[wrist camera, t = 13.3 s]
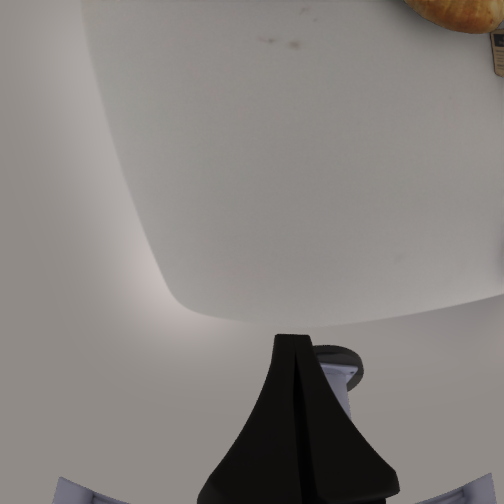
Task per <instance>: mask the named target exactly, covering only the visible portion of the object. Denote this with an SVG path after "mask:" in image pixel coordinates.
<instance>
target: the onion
mask: <svg viewBox="0 0 504 504" xmlns="http://www.w3.org/2000/svg"><path fill="white" fill-rule="evenodd" d="M404 1H405V2H406V3H407V4H408V5H409V6H410V7H411V8H412V9H413V10H414V11H416V12H417V13H418V14H419V15H421V16H422V17H423V18H425V19H427V20H429V21H431V22H433V23H435V24H437V25H439V26H441V27H444V28H446V29H449V30H452V31H458V32H464V33H470V34H483V33H488V32H492V31H494V30H495V29H496V28H498V26H499V24H500V23H501V22H502V21H503V19H504V0H404Z"/></svg>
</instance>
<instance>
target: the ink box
mask: <svg viewBox="0 0 504 504" xmlns="http://www.w3.org/2000/svg"><path fill="white" fill-rule="evenodd" d="M490 34H491V40H492V47H493V55H494V64H495V73H496V74H497V75H499V76H501V77H504V29H495V30H494V31H492V32H490Z"/></svg>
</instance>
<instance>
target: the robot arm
mask: <svg viewBox="0 0 504 504" xmlns="http://www.w3.org/2000/svg"><path fill="white" fill-rule="evenodd" d="M357 370H358V367H357V366H353V365H341V364H330V363H320V362H319V361H318V358H317V356H316V353H315V351H314V348H313V345H312V342H311V339H310V336H309V335H297V334H277V335H275V338H274V346H273V353H272V359H271V365H270V368H269V371H268V374H267V377H266V380H265V383H264V385H263V388H262V390H261V393H260V395H259V398H258V400H257V402H256V404H255V406H254V409H253V410H252V412H251V414H250V416H249V418H248V420H247V422H246V424H245V426H244V427H243V429H242V431H241V432H240V434H239V436H238V437H237V439H236V440H235V442H234V444H233V445H232V447H231V448H230V449H229V451H228V453H227V454H226V455H225V457H224V458H223V459H222V461H221V462H220V463H219V465H218V466H217V467H216V469H215V470H214V471H213V472H212V474H211V475H210V476H209V478H208V480H207V481H206V483H205V485H204V486H203V488H202V490H201V491H200V493H199V495H198V499H197V504H386V498H388V497H391V496H393V495H396V494H398V493H399V491H400V487H399V481H398V478H397V475H396V472H395V470H394V469H393V468H392V467H390V465H388V464H387V463H386V462H385V461H384V460H383V459H382V458H381V457H380V456H379V455H378V453H377V452H376V451H375V450H374V449H373V448H372V447H371V446H370V444H369V443H368V442H367V441H366V440H365V438H364V437H363V436H362V435H361V433H360V432H359V431H358V430H357V428H356V427H355V425H354V424H353V423H352V421H351V414H350V407H349V399H348V393H347V386H346V384H347V382H348V381H349V380H350V379H351V378H352V376H353V375H354V374H355V373H356V372H357ZM52 504H129V503H126V502H122V501H119V500H116V499H113V498H110V497H107V496H105V495H102V494H99V493H97V492H94V491H92V490H90V489H88V488H86V487H83V486H81V485H78V484H76V483H74V482H71V481H69V480H67V479H65V478H63V477H59V479H58V483H57V487H56V491H55V494H54V499H53V503H52ZM415 504H496V497H495V491H494V485H493V480H492V474H491V473H489V474H487V475H485V476H482V477H481V478H478V479H476V480H474V481H472V482H470V483H468V484H466V485H464V486H462V487H459V488H457V489H455V490H452V491H450V492H447V493H445V494H442V495H439V496H437V497H434V498H431V499H428V500H425V501H422V502H419V503H415Z"/></svg>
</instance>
